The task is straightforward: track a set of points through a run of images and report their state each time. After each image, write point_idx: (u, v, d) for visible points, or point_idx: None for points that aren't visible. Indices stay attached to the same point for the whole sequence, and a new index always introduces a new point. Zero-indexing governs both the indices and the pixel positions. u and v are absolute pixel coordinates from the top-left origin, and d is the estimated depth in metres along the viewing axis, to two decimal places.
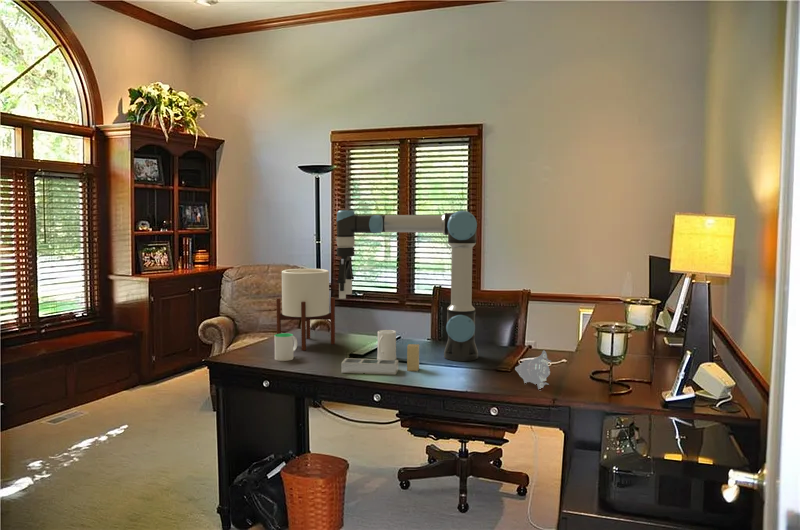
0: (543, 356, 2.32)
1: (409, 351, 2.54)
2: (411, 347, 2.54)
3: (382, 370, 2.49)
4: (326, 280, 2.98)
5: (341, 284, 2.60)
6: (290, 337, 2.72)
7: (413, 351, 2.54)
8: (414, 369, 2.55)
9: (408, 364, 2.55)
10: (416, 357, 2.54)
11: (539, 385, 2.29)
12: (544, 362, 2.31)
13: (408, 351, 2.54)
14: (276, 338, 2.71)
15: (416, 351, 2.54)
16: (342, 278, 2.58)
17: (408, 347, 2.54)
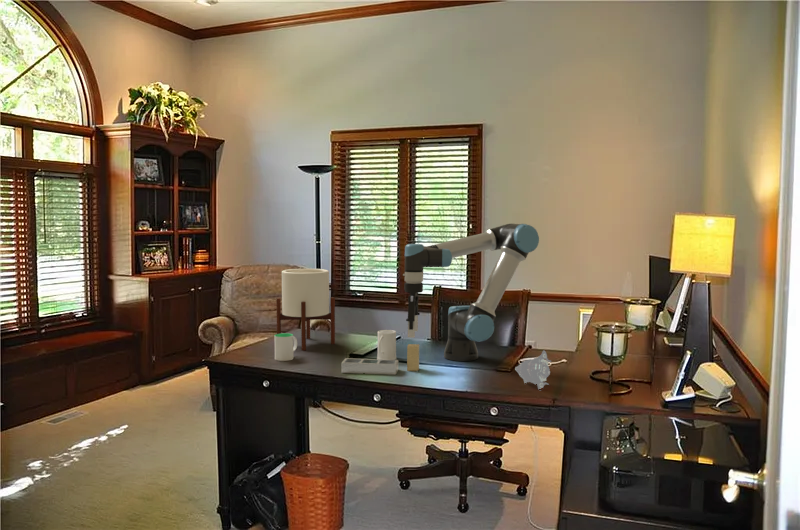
0: (543, 356, 2.32)
1: (409, 351, 2.54)
2: (411, 347, 2.54)
3: (382, 370, 2.49)
4: (326, 280, 2.98)
5: (410, 322, 2.47)
6: (290, 337, 2.72)
7: (413, 351, 2.54)
8: (414, 369, 2.55)
9: (408, 364, 2.55)
10: (416, 357, 2.54)
11: (539, 385, 2.29)
12: (544, 362, 2.31)
13: (408, 351, 2.54)
14: (276, 338, 2.71)
15: (416, 351, 2.54)
16: (412, 316, 2.45)
17: (408, 347, 2.54)
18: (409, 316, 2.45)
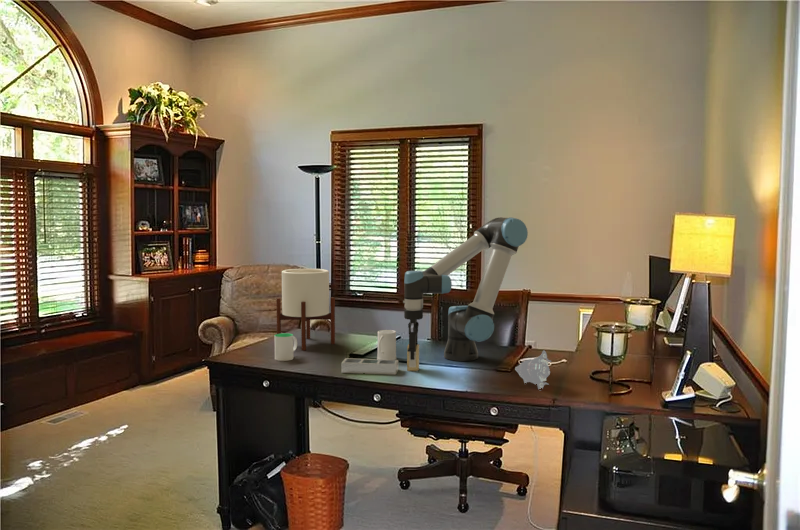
0: (543, 356, 2.32)
1: None
2: None
3: (382, 370, 2.49)
4: (326, 280, 2.98)
5: (412, 353, 2.52)
6: (290, 337, 2.72)
7: None
8: (414, 369, 2.55)
9: (408, 364, 2.55)
10: (416, 357, 2.54)
11: (539, 385, 2.29)
12: (544, 362, 2.31)
13: None
14: (276, 338, 2.71)
15: (416, 351, 2.54)
16: (413, 348, 2.50)
17: (408, 347, 2.54)
18: (410, 347, 2.50)
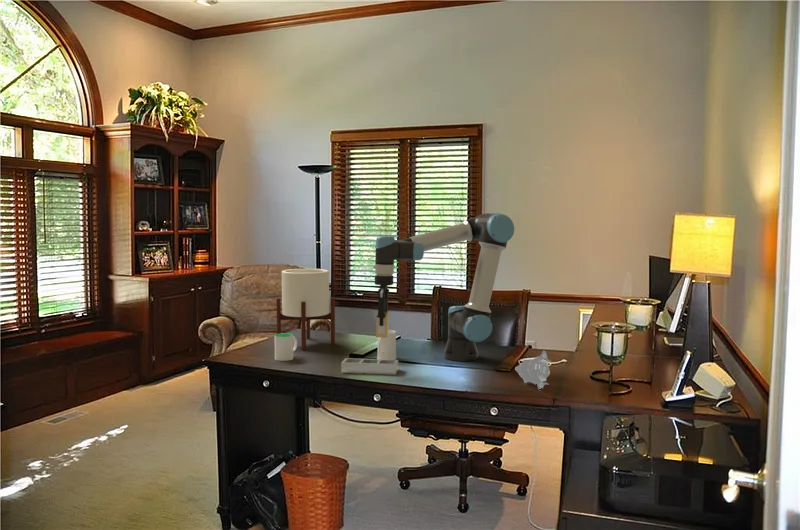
0: (543, 356, 2.32)
1: None
2: None
3: (382, 370, 2.49)
4: (326, 280, 2.98)
5: (381, 319, 2.49)
6: (290, 337, 2.72)
7: None
8: (383, 336, 2.51)
9: (377, 330, 2.51)
10: (385, 323, 2.51)
11: (539, 385, 2.29)
12: (544, 362, 2.31)
13: (377, 317, 2.51)
14: (276, 338, 2.71)
15: (385, 317, 2.50)
16: (382, 313, 2.47)
17: (377, 313, 2.51)
18: (379, 313, 2.47)
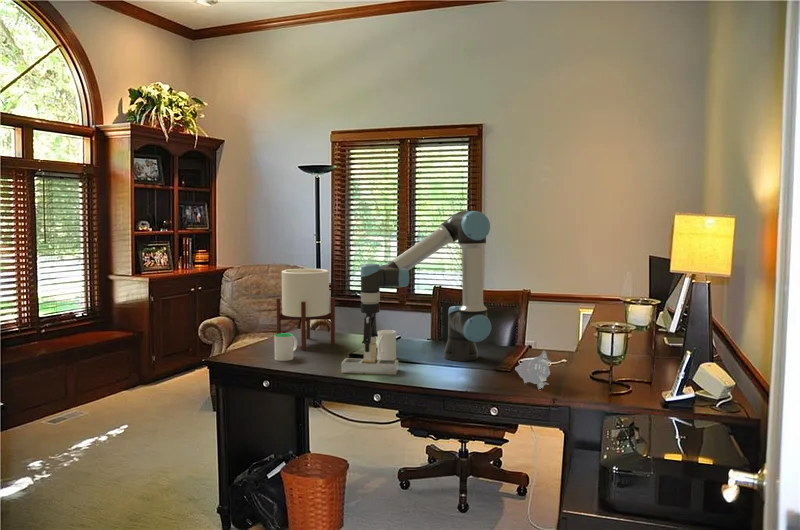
0: (543, 356, 2.32)
1: None
2: None
3: (382, 370, 2.49)
4: (326, 280, 2.98)
5: (366, 345, 2.45)
6: (290, 337, 2.72)
7: None
8: None
9: (365, 362, 2.52)
10: (372, 356, 2.51)
11: (539, 385, 2.29)
12: (544, 362, 2.31)
13: None
14: (276, 338, 2.71)
15: (372, 349, 2.51)
16: (368, 339, 2.44)
17: None
18: (365, 339, 2.44)
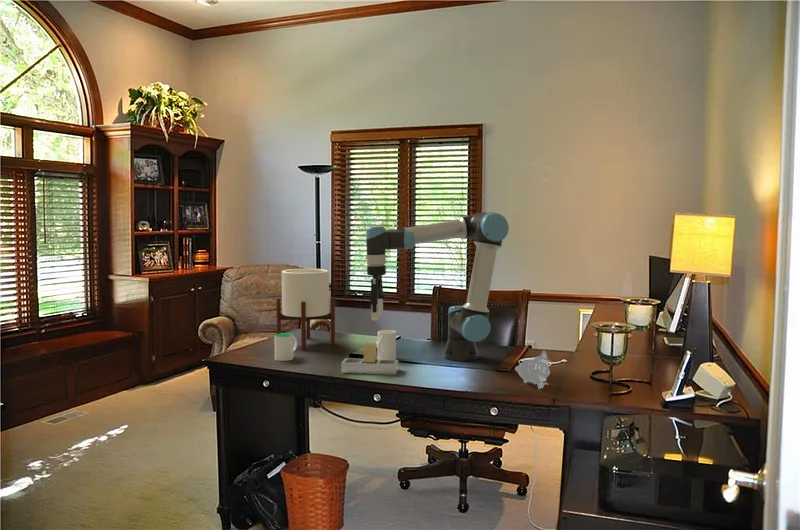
0: (543, 356, 2.32)
1: (365, 349, 2.51)
2: (367, 345, 2.51)
3: (382, 370, 2.49)
4: (326, 280, 2.98)
5: (374, 305, 2.45)
6: (290, 337, 2.72)
7: (369, 349, 2.51)
8: None
9: (365, 362, 2.52)
10: (372, 356, 2.51)
11: (539, 385, 2.29)
12: (544, 362, 2.31)
13: (364, 349, 2.51)
14: (276, 338, 2.71)
15: (372, 349, 2.51)
16: (375, 299, 2.44)
17: (364, 345, 2.51)
18: (372, 299, 2.44)
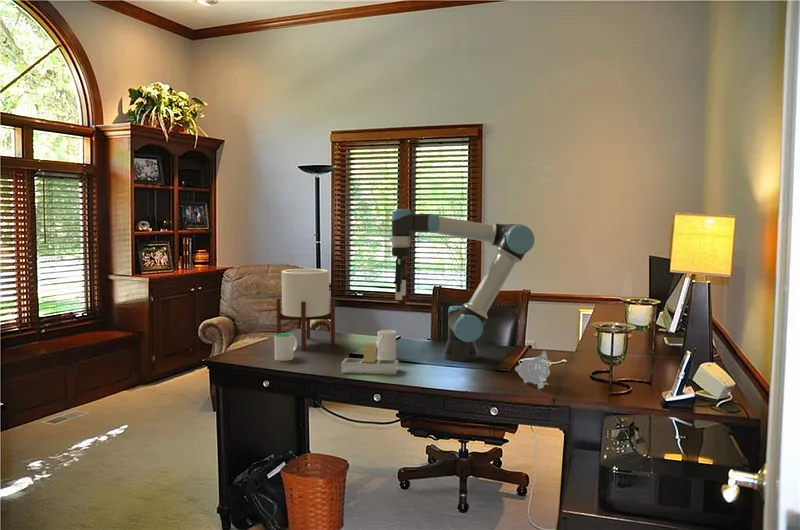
0: (543, 356, 2.32)
1: (365, 349, 2.51)
2: (367, 345, 2.51)
3: (382, 370, 2.49)
4: (326, 280, 2.98)
5: (398, 285, 2.52)
6: (290, 337, 2.72)
7: (369, 349, 2.51)
8: None
9: (365, 362, 2.52)
10: (372, 356, 2.51)
11: (539, 385, 2.29)
12: (544, 362, 2.31)
13: (364, 349, 2.51)
14: (276, 338, 2.71)
15: (372, 349, 2.51)
16: (399, 279, 2.51)
17: (364, 345, 2.51)
18: (396, 278, 2.51)
